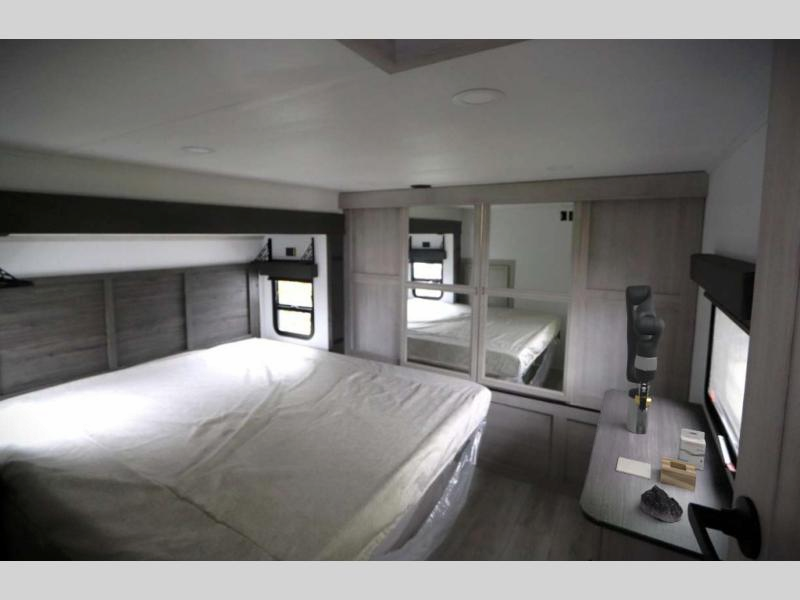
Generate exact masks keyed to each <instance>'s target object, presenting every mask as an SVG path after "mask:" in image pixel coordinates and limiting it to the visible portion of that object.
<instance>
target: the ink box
mask: <svg viewBox="0 0 800 600" xmlns="http://www.w3.org/2000/svg"><path fill="white" fill-rule="evenodd" d="M706 445H707V444H706V440H705V432H704V431H699V430H695V429H689V428H683V427H682V428H681V431H680V437H679V445H678V446H679V447H678V454H677V460H681V461H685V462H690V463H694V464H695V470H699V471H704V463H705V455H706Z"/></svg>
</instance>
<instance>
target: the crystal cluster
mask: <svg viewBox="0 0 800 600" xmlns="http://www.w3.org/2000/svg"><path fill="white" fill-rule="evenodd" d="M640 508H641V509H642V510H643V511H644V512H645V513H647V514H648V515H650V516H652V517H653V518H655V519H659V520H661V521H662V522H666V523H675V522H679V521H680V520H681V519H682V516H683V514H684V510H683V507H682V506H681V505H680V503H679V502H678V501H677V500H676V499H675V497H672V496H671V497H670V496H669V495H668V493H667V492H666V491H665V490H664V489H662V488H660V487H659V486H658V485H656V484H654V485H653V486H652V487H651V488H650V489H647V490H645V491H643V493H642V494H641V495H640Z"/></svg>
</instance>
